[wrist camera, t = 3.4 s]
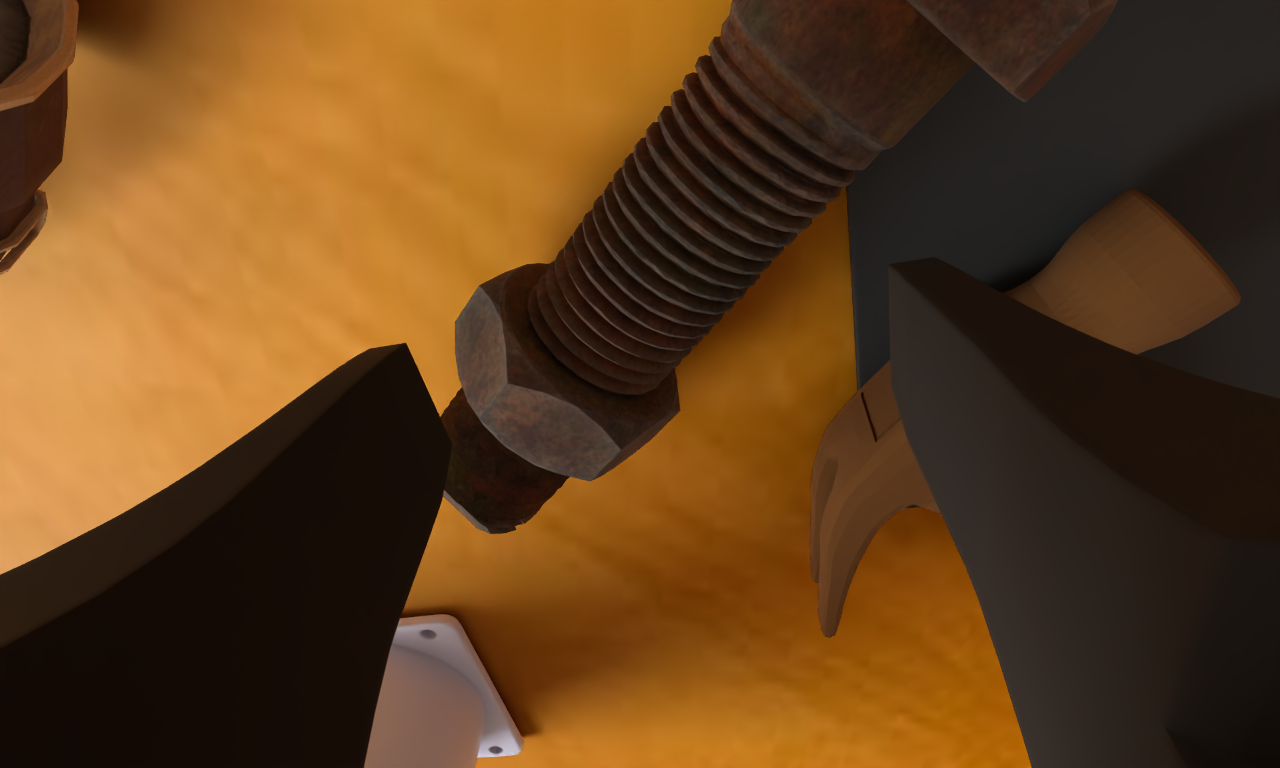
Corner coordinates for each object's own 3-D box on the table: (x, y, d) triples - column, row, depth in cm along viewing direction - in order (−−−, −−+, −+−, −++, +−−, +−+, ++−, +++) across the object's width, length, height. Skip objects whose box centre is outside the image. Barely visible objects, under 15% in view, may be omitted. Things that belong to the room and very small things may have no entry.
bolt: (488, 375, 21) (892, -167, 13) (604, 513, 20) (1112, 29, 12) (310, 445, 16) (776, -353, 8) (454, 629, 15) (1131, -45, 7)
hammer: (1580, 738, 25) (1111, 163, 15) (1679, 839, 23) (1200, 232, 12) (1226, 840, 31) (698, 480, 20) (1274, 930, 28) (700, 573, 18)
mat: (863, 503, 21) (866, 513, 20) (808, -490, 10) (812, -501, 10) (1259, 457, 19) (1269, 467, 19) (1676, -768, 9) (1715, -793, 8)
